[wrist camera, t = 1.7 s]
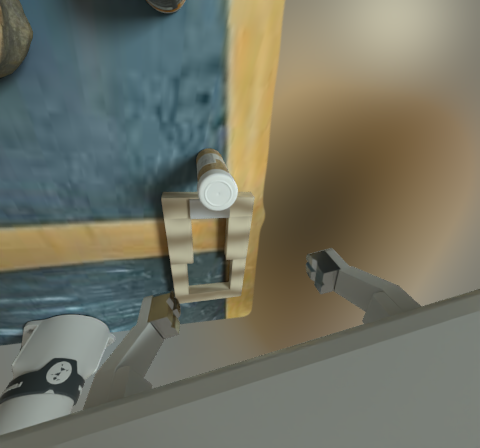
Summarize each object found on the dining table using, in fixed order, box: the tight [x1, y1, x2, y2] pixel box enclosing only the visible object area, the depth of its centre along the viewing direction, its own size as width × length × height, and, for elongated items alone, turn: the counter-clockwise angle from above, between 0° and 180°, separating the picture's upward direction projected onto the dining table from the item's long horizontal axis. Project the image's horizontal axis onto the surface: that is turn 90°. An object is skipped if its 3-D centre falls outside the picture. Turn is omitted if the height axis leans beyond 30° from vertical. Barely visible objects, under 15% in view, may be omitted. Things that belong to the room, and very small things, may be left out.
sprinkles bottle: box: [196, 149, 238, 211], centre depth 27 cm, size 5×5×13 cm
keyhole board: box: [161, 192, 254, 304], centre depth 41 cm, size 28×16×3 cm, turn 175°
